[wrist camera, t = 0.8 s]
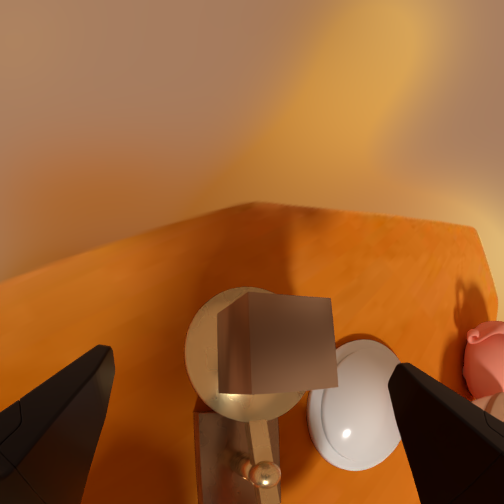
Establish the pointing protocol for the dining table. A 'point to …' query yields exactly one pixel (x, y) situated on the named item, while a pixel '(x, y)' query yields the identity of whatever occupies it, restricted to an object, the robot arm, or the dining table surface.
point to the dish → (356, 408)
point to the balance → (232, 421)
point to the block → (276, 345)
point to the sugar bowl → (485, 359)
